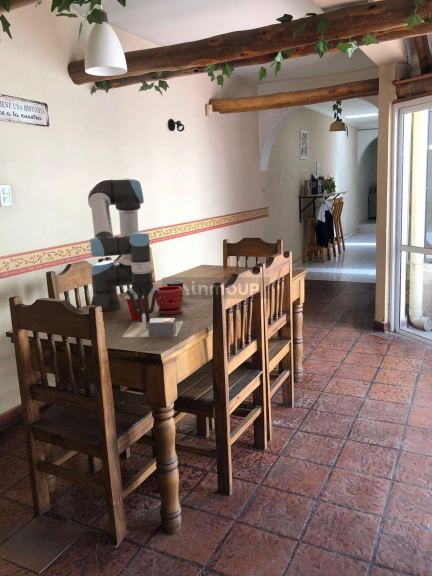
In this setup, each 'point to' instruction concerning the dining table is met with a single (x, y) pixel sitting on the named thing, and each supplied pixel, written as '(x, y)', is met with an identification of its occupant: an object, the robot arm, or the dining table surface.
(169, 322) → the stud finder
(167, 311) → the plant pot
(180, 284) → the coffee mug
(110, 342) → the dining table surface
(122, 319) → the dining table surface
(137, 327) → the plywood panel
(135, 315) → the plastic cup
